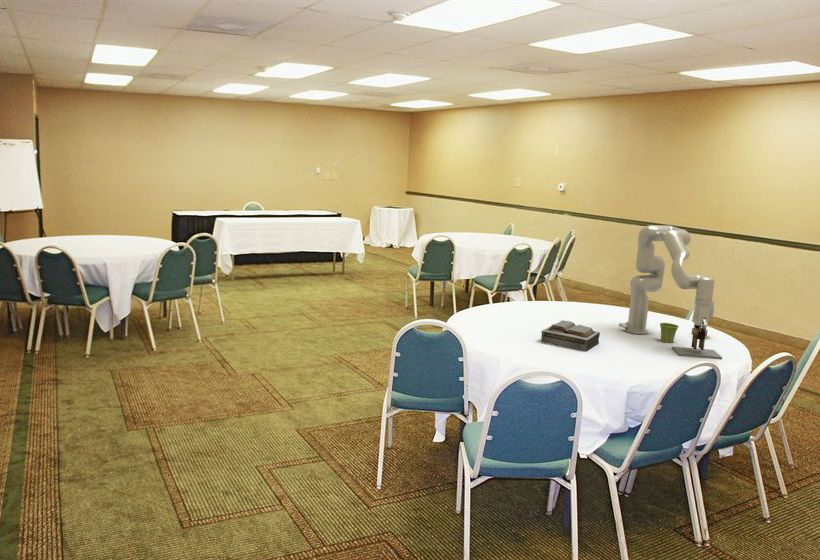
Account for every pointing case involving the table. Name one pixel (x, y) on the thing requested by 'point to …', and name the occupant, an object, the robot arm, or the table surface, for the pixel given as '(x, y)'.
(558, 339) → the bible
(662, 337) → the plant pot
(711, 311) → the wineglass
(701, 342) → the stool
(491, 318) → the table surface
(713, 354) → the mat
